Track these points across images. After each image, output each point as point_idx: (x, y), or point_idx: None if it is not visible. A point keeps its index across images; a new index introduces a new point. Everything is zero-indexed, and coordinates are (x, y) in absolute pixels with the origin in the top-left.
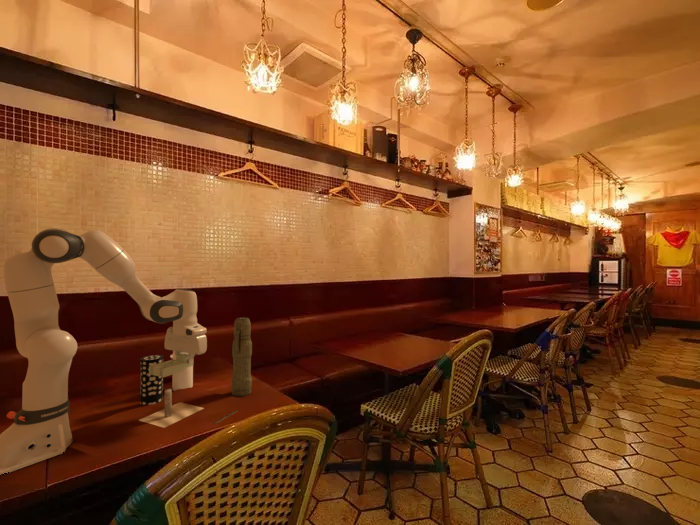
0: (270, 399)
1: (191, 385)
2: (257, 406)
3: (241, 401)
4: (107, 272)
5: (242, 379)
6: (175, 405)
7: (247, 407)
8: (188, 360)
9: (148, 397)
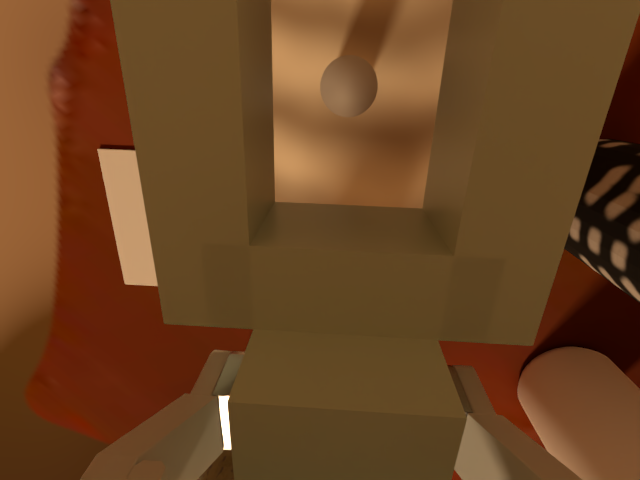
0: (109, 405)
1: (522, 403)
2: (98, 343)
3: (195, 359)
4: None
5: (211, 468)
6: (416, 204)
7: (124, 324)
8: (208, 383)
9: (609, 161)
